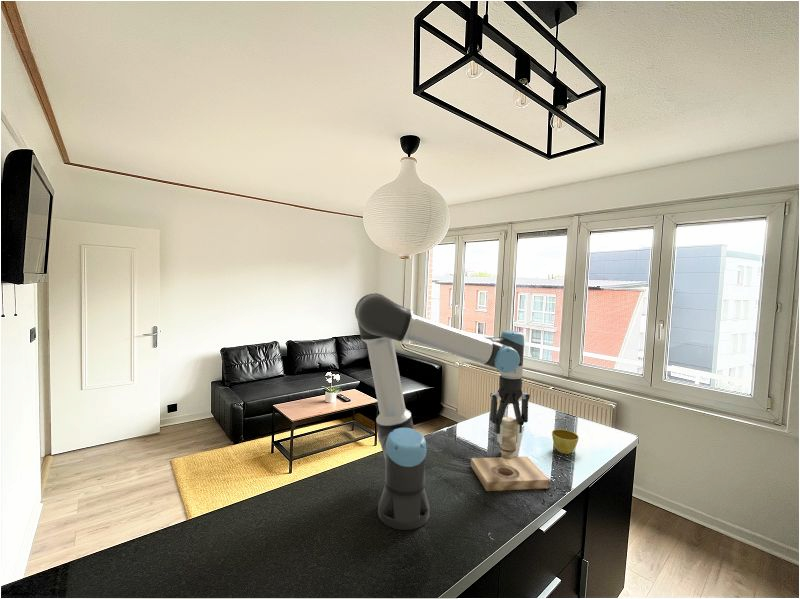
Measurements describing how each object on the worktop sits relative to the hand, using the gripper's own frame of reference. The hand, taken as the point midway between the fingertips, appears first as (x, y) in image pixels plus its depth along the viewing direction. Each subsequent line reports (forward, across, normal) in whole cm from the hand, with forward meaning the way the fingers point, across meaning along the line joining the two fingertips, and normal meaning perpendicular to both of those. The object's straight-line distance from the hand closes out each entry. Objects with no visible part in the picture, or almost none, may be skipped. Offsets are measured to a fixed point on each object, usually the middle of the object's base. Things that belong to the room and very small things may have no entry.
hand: (507, 441), depth 128 cm
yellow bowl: (+14, +34, +19) cm, 41 cm away
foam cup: (+14, +10, +18) cm, 25 cm away
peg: (+5, 0, 0) cm, 5 cm away
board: (+14, +2, +2) cm, 14 cm away
